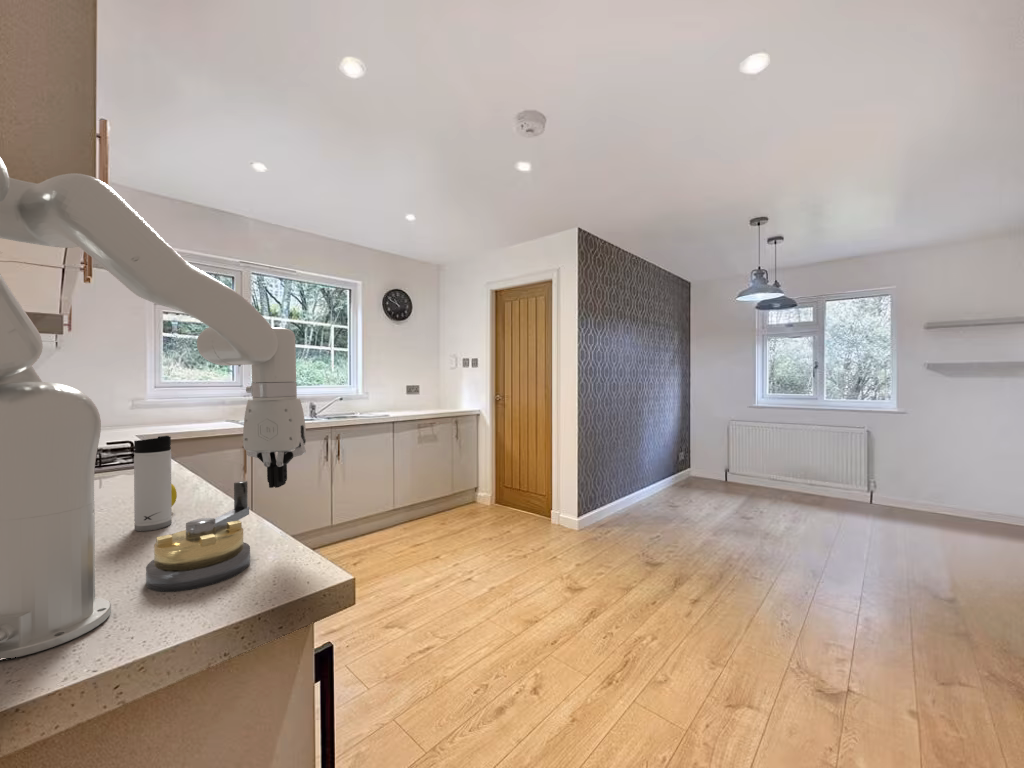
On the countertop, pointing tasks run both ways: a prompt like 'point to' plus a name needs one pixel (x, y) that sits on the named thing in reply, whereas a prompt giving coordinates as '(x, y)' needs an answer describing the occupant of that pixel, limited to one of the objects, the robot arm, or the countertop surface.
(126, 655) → the countertop surface
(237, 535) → the yellow crank mechanism
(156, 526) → the travel mug
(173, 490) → the lemon
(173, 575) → the base
